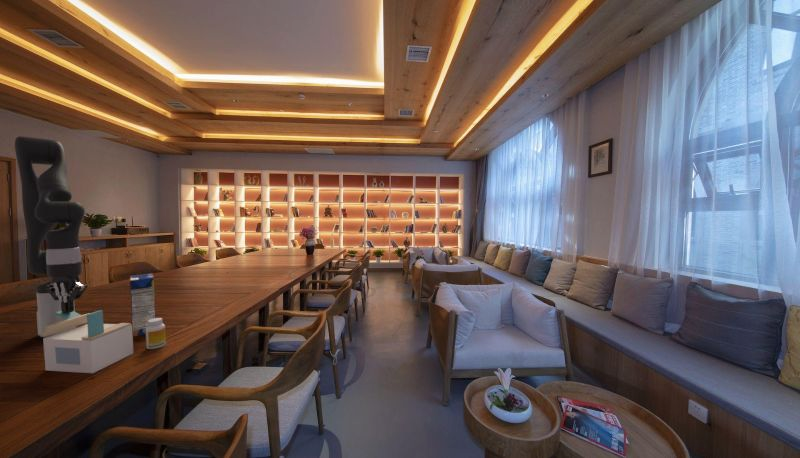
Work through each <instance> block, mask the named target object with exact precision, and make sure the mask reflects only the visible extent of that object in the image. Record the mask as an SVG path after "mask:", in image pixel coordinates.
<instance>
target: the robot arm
mask: <svg viewBox="0 0 800 458" xmlns="http://www.w3.org/2000/svg"><path fill="white" fill-rule="evenodd" d="M14 151H15V157H16V161H17V166H18V172H19V178H20V184H21V197H22V198H21V200H22V201H21V202H22V212H23V218H24V225H25V230H26V246H27V247H26V251H27V252H26V253H27V254H26V255H27V259H26V260H27V269H28V271H29V273H30V274H31V275H33V276H36V275H37V276H39V275H47V278H50V280H48V281H45V282H41V283H39V284H37V285H36V287H35V288H36V289H35V291H36V303H37V304H36V305H37V311H36V326H37V335H38V336H39V337H40V338H46V337H49V336H52V335H55V334H58V333H61V332H64V331H67V330H70V329H73V328H76V327H77V326H75V327H72V328H69V329H66V330H63V331H60V332H57V333H54V334H51V335H48V336H45V337H43V336H42V335H43V333H44V330H45V327H46V326H48V325H51V324H54V323H58V322H61V321H64V319H63V318H61V317H59V316H57V315H55V313H56V312H59V311H62V313H70V312H73V311H75V312H76V309H75V301H76V300H79V299H81V297H82V296H83V294H84V292H85V291H86V289H87V288H88V285H86V284H82V283H81V278H80V277H79V276H80V275H81V274H82V273H83V267H82V266H83V264H82V253H81V249H80V240H79V239H80V237H79V235H80V228H81V224H82V222H83V220H84V216H85V213H86V212H85V210H86V209H85V207H84V206H83V204H81V203H80V202H78V201H72V198H73V196H72V192H71V189H70V186H69V182H68V171H67V159H66V153H65V148H64V146H63V145H62V143H61V142H60V141H59V140H56V139H55V140H54V139H49V138H48V139H47V138H39V137H32V136H30V137H29V136H22V135H21V136H17V137H16V138H15V140H14ZM33 164H34V165H35V164H36V165H46V166H47V165H48V166H50V167H49V168H48V169H46V170H44V171H43V172H42V173H41V174H40V175H38V174H37V172H36V171H35V170H34V167H33ZM60 223H62V224H63V223H66V224H67V223H68V225H67V226H66V227H63V228H60V229H55V228H56V227H57V225H59V224H60ZM44 241H46V242H45V244H46V249H45V250H44V249H43V250H42V249H41V247H42V245H43V243H44Z"/></svg>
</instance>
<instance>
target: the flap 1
mask: <svg viewBox="0 0 800 458" xmlns="http://www.w3.org/2000/svg"><path fill="white" fill-rule="evenodd" d="M87 314H90V312H88V313H85V314H80V313H78V312H76V310H75V311H73V312H70V313H62V311H59V312H56V313H55V315H57V316H59V317H61V318H63V319H64V321H61V322H58V323H54V324H51V325H48V326H46V327H45V330H44V333H43V335H42V336H43V337H42V338H46V337H45V336H48V335H51V334H54V333H57V332H60V331H63V330H66V329H69V328H72V327H75V326H76V327H79V326H82V325H85V324H87Z"/></svg>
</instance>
